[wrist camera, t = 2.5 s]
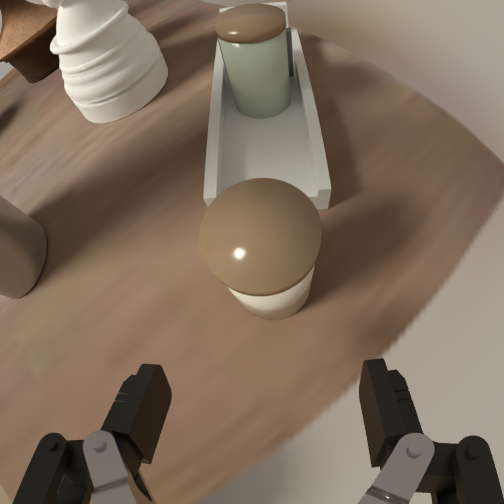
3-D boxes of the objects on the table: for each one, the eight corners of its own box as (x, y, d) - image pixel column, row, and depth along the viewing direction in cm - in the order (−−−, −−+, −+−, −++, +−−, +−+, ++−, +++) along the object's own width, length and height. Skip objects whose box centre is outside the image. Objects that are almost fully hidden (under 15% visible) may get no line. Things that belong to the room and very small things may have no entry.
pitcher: (28, 104, 40) (-52, 0, 14) (8, 90, 45) (-54, 9, 19) (99, 40, 43) (42, -69, 17) (66, 36, 49) (17, -48, 23)
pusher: (294, 76, 30) (291, 31, 24) (228, 82, 31) (217, 39, 25) (289, 53, 31) (286, 11, 26) (229, 59, 32) (220, 18, 27)
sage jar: (225, 115, 29) (201, 33, 20) (245, 79, 31) (229, 3, 21) (282, 123, 28) (274, 35, 19) (297, 86, 29) (293, 5, 20)
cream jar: (225, 308, 24) (180, 270, 15) (249, 239, 26) (224, 168, 16) (298, 331, 23) (302, 308, 13) (320, 258, 24) (334, 193, 15)
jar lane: (327, 208, 26) (336, 156, 19) (213, 217, 27) (187, 169, 20) (297, 47, 34) (294, 1, 27) (222, 54, 35) (211, 10, 28)
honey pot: (128, 131, 32) (51, 9, 15) (66, 117, 35) (-2, 28, 18) (187, 61, 35) (147, -54, 18) (120, 56, 38) (75, -33, 21)
